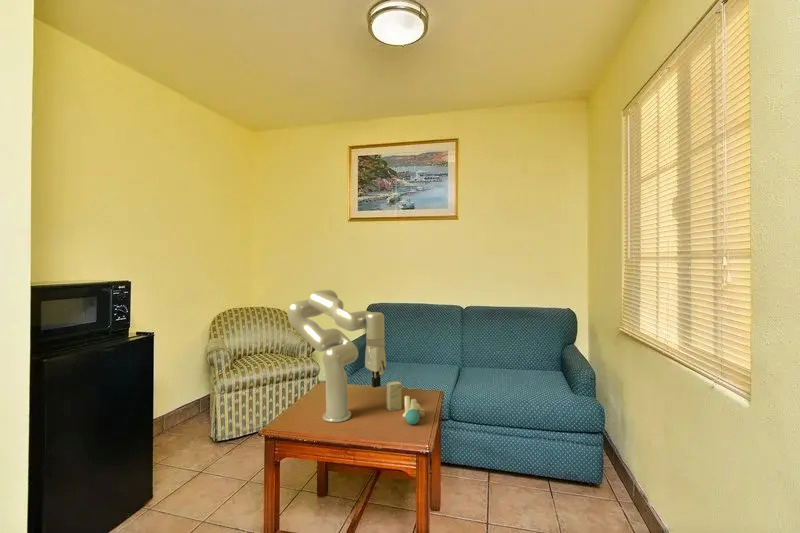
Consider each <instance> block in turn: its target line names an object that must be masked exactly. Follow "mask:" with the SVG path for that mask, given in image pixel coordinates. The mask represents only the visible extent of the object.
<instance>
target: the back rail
mask: <svg viewBox="0 0 800 533" xmlns="http://www.w3.org/2000/svg"><path fill="white" fill-rule="evenodd" d="M410 408H411V402H410ZM417 412H418V413H419V416H420V417H419V418H425V417H426V414H425V409H423V408H422V407H420V408H419V409H418V410H417Z"/></svg>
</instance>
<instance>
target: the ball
mask: <svg viewBox="0 0 800 533" xmlns="http://www.w3.org/2000/svg"><path fill="white" fill-rule="evenodd" d="M405 418H406V419H405V420H406V422H407V423H408V424H409V425H416V424H417V423H418V422H419V421H420V418H421V417H420V416H419V413H418V412H417V411H416V410H414V409H410V410H408V411H407V413H406V415H405Z"/></svg>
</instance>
